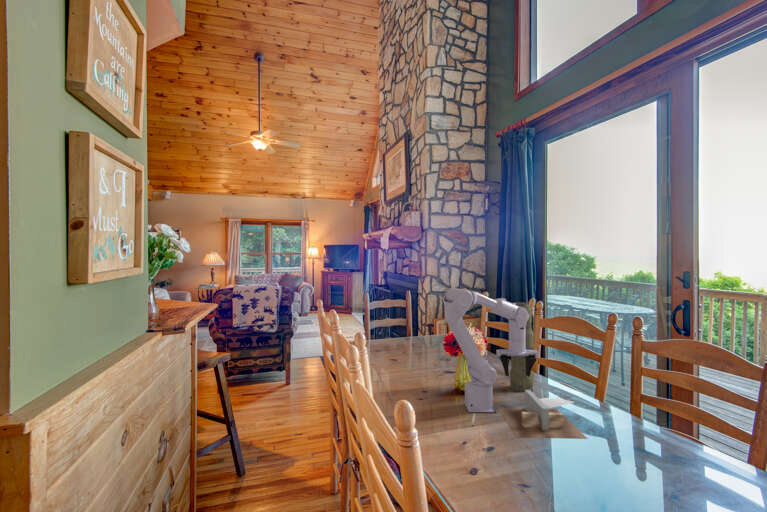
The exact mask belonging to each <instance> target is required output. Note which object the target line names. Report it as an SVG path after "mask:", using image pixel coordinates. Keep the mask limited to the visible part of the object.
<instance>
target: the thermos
mask: <svg viewBox="0 0 767 512" xmlns="http://www.w3.org/2000/svg"><path fill="white" fill-rule="evenodd" d="M514 303H515V304H516V306H520V307H524V308H525V309H526V310H527V312H528V314H529V319H528V320H527V326H526V349H527V350H534V349H533V348H534V339H535V316H534V314H533V313H532V311H533V310H532V308H531V305H530V304H529V303H528V302H523V301H516V302H514ZM507 320H508V319H507ZM507 325H508V327H507V329H508V330H507V331H508V332H507V334H508V335H507V336H508V337H507V338H508V340H509V320H508V321H507ZM510 361H511V362H510V365H511V367H510V370H509V384H510V388H511V389H512V390H513V392H514V391H515V392H514V393H525V390H531V391H532V392H533V393H534V385H535V384H534V383H535V382H534V381H535V376H534V375H535V374H534V372H533V369H532V370H531V373H530V377H528V376H527V375H526V361H525V356H510ZM511 389H510V390H511ZM512 390H511V391H512Z"/></svg>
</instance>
